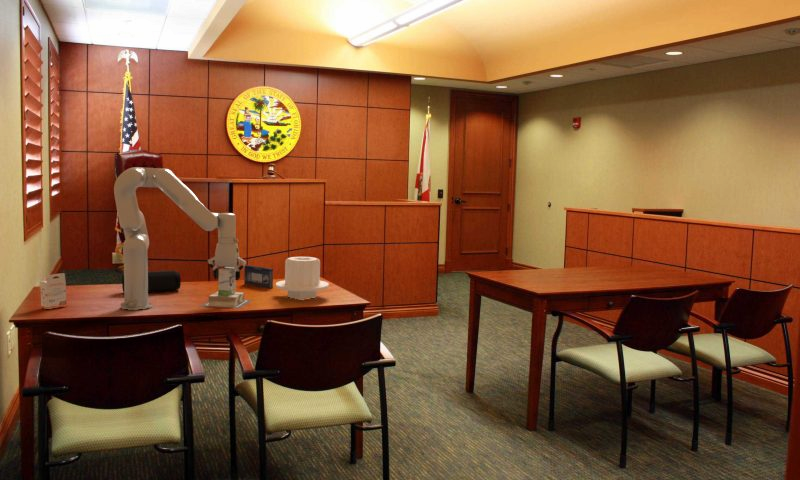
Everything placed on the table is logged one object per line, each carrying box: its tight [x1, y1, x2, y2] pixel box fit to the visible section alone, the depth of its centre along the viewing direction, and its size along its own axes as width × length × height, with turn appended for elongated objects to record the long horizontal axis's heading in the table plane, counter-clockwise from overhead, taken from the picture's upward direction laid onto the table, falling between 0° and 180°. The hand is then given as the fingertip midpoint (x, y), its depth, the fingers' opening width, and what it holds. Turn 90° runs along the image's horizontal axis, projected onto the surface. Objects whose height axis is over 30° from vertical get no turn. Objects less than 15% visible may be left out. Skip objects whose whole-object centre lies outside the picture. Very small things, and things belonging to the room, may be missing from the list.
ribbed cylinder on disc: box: [275, 256, 330, 301], centre depth 322 cm, size 25×25×19 cm
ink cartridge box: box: [40, 272, 67, 307], centre depth 285 cm, size 9×5×15 cm, turn 148°
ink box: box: [217, 267, 237, 296], centre depth 300 cm, size 9×5×12 cm, turn 171°
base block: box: [208, 291, 245, 307], centre depth 301 cm, size 12×12×4 cm
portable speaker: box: [121, 269, 182, 293], centre depth 325 cm, size 26×10×10 cm, turn 119°
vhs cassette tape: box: [243, 264, 274, 290], centre depth 348 cm, size 18×3×10 cm, turn 55°
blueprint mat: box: [200, 299, 253, 309], centre depth 301 cm, size 18×18×1 cm
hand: (226, 279), depth 300 cm, fingers open, 9 cm apart
